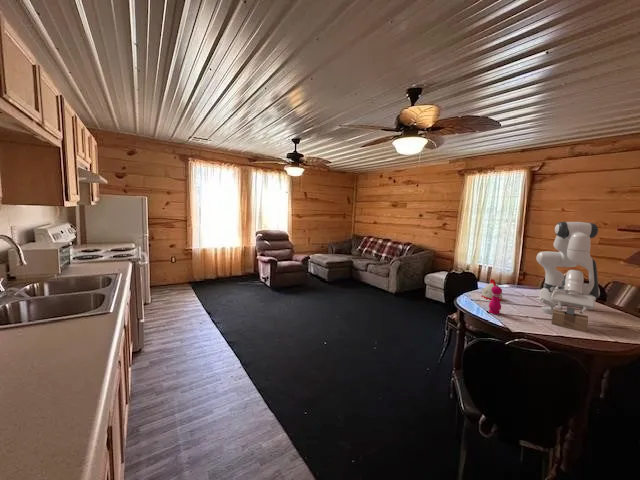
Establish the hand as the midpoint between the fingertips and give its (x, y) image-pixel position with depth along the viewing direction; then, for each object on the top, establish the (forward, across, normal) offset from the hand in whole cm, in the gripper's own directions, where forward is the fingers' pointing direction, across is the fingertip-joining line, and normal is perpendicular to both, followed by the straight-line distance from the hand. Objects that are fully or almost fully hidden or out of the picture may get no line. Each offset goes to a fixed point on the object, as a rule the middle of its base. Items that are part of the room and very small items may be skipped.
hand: (570, 311), depth 172 cm
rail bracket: (+6, 0, -6) cm, 9 cm away
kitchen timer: (-12, +46, -26) cm, 54 cm away
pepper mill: (+13, +38, 0) cm, 40 cm away
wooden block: (+7, 0, -7) cm, 10 cm away
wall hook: (-8, +11, -22) cm, 26 cm away
